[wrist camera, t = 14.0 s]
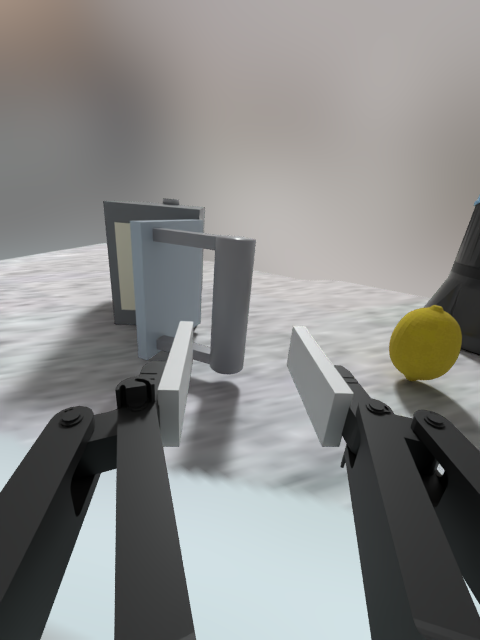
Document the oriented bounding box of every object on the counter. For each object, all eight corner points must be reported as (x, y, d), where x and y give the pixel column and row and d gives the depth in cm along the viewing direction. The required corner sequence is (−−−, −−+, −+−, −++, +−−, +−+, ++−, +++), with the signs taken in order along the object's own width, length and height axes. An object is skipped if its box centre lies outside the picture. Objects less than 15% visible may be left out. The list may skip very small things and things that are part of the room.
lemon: (448, 384, 28) (481, 309, 25) (432, 406, 24) (468, 322, 21) (392, 360, 32) (414, 293, 29) (370, 376, 28) (394, 301, 25)
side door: (194, 320, 35) (197, 219, 31) (267, 337, 32) (281, 228, 28) (138, 357, 26) (129, 220, 21) (233, 386, 23) (246, 235, 18)
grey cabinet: (202, 287, 52) (205, 202, 47) (196, 327, 35) (199, 201, 30) (135, 284, 51) (130, 195, 45) (97, 323, 34) (81, 190, 29)
